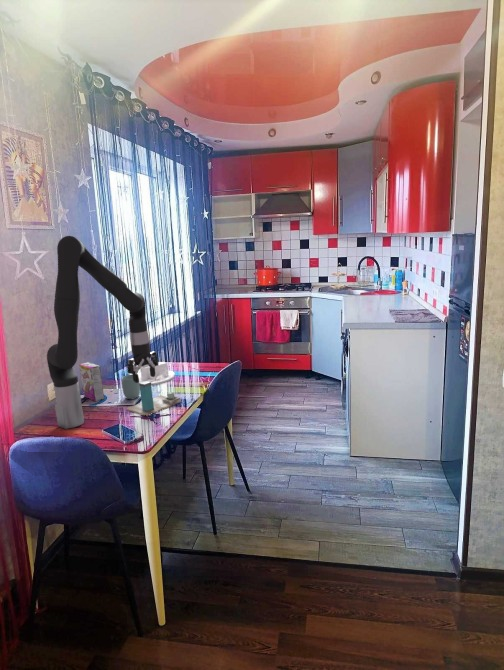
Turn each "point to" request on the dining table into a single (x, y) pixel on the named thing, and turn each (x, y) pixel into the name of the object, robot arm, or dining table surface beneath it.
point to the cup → (130, 387)
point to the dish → (156, 374)
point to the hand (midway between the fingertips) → (144, 379)
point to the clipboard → (155, 405)
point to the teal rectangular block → (146, 396)
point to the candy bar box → (91, 381)
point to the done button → (170, 395)
